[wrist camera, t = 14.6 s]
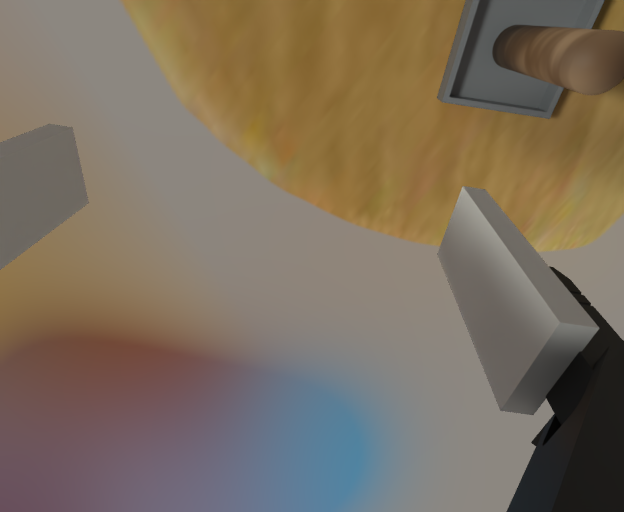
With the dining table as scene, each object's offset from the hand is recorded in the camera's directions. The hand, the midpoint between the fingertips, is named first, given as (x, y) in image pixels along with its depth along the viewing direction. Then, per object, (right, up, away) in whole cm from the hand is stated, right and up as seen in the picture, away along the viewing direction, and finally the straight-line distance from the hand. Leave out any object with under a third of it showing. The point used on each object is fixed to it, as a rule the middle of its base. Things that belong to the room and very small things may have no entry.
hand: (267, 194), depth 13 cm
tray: (+23, +20, +27) cm, 40 cm away
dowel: (+23, +20, +26) cm, 40 cm away
